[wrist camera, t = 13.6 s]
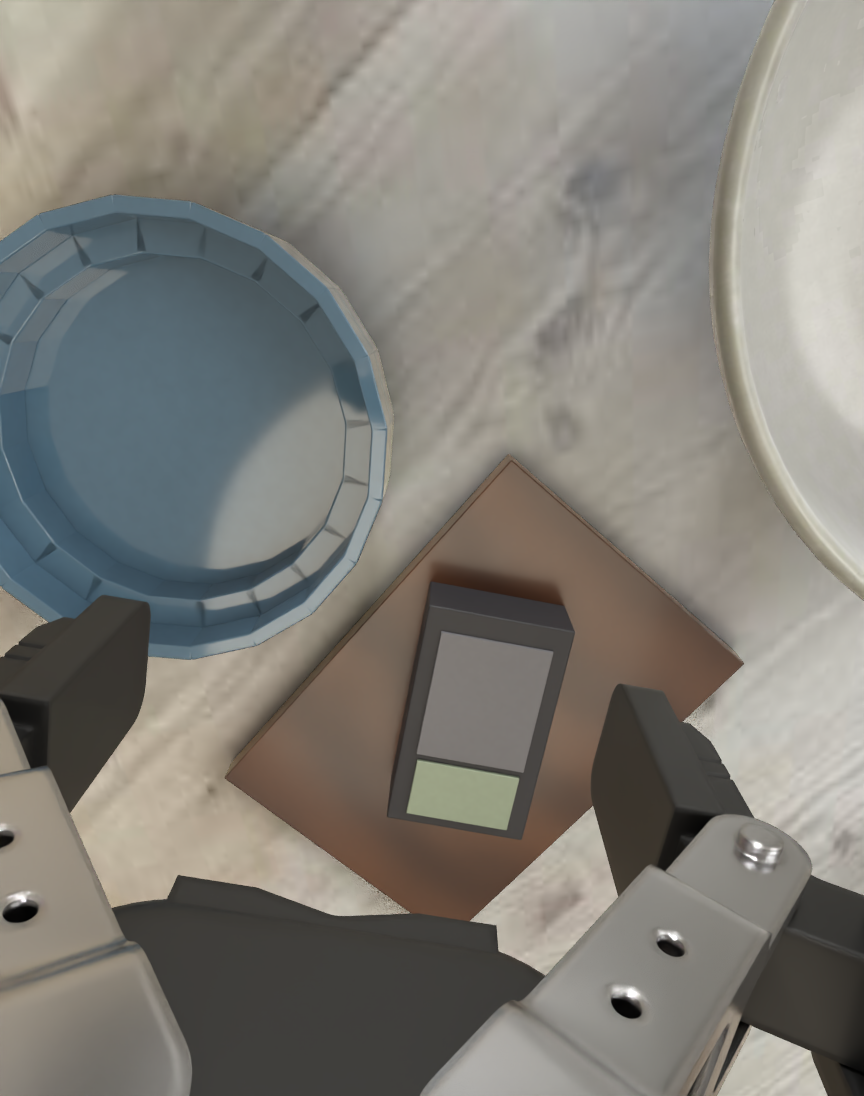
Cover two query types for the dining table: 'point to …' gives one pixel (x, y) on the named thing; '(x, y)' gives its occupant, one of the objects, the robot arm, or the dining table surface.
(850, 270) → the decorative bowl
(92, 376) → the bowl
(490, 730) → the calculator
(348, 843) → the board
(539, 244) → the dining table surface
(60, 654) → the robot arm
